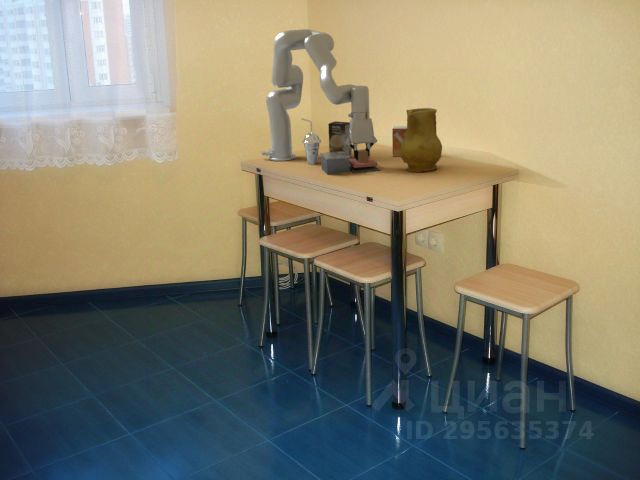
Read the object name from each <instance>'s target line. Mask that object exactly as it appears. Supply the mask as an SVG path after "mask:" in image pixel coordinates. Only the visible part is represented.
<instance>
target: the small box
mask: <svg viewBox="0 0 640 480" xmlns="http://www.w3.org/2000/svg"><path fill="white" fill-rule="evenodd" d="M406 131H407V125H405V126H404V125H402V126H399V125H398V126H395V125H394V126H393V127H392V144H391V145H392V146H391V147H392V157H401V144H402V142H403V140H404V138H405V135H406Z"/></svg>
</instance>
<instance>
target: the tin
mask: <svg viewBox="0 0 640 480" xmlns="http://www.w3.org/2000/svg"><path fill="white" fill-rule="evenodd" d="M319 155H320V159H321V160H320V164H321V170H322V171H323V172H324V173H325V175H327V176H328V175H339V174H346V173H347V174H348V173H351V171H350V167H349V160H350V159H351V157H350V156H349V155H347V154H346V153H345V152H343V151H338V152H320V154H319Z"/></svg>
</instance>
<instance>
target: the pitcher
mask: <svg viewBox="0 0 640 480" xmlns="http://www.w3.org/2000/svg"><path fill="white" fill-rule="evenodd" d="M437 112H438V109H437V108H432V107H423V108H411V109H406V115H407V116H406V126H407V131H406V135H405V138H404V140H403V142H402V144H401V156H400V158H401V160H402V162H403V163H405V164H407V166H408V167H407V169H406V170H407V171H409V172H411V173H420V172H422V173H423V172H430V171H433V170H436V169H437V168H438V165H437V163H438V162H439V161H440V160H441V158H442V154H443V153H442V151H443V145H442V142H441V139H440V138H439V137H438V135H437V114H436V113H437Z"/></svg>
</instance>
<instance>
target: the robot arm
mask: <svg viewBox="0 0 640 480" xmlns="http://www.w3.org/2000/svg"><path fill="white" fill-rule="evenodd" d="M334 47H335V41H334V38H333V36H332V35H330V34H329V33H327V32H322V31H318V30H313V29H309V28H305V29H304V28H303V29H302V28H301V29H290V30H284V31H282V32H279V33H277V35H276V36H275V38H274V40H273V58H272V59H273V60H272V68H271V69H272V70H271V82H272V83H271V84H272V85H273V86H274V87H276V88H280V89H276V90H272V91H270V92H269V93H268V94H267V96H266V100H265V103H266V108H267V111H268V117H269V129H270V142H271V143H270V144H271V145H270V146H271V148H270V150H267V151H263V150H262V151H261V156H265V157H267V156H268V160H270V161H275V162H279V161H280V162H283V161H291V160H294V159H296V158H297V156H296V154H295V153H293V142H292V127H291V126H292V125H291V117H290V116H289V113H288V111H287V110H292V109H295V108H297V107H298V106H299V105H300V103H301V100H302V95H303V84H304V73H303V70H302V68H301V67H300V66H299V65H297V64H293V53H292V51H300V50H305V51H306V52H307V54H308V56H309V57H310V59H311V60H312V62H313V63H314V66H316V69H317V70H318V72H319V84H320V89H321V90H322V92H323V93H324V96H325V97H326V99H328V101H329V102H330V103H332V104H333V105H335V106H336V105H337V106H338V105H342V104H349V103H351V104H350V108H351V109H350V113H348V115H347V116H348V118H351V119H349V120H350V121H349V122H350V125H349V137H348V139H347V141H346V142H345V144H346V145H348V146H350V147H351V148H352V151H353V159H356V160H358V150H359V149H358V145H359V144H365V148H364V149H365V150H366V151H368V159H369V158H370V156H371V152H370V151H371V150H370V149H372V147H373V146H374V145H375V144H376V143H377V142H378V139H377V138H376V136H375V133H374V123H373V120H372V118H370V116H371V115H370V92H369V91H370V90H369V86H366V85H354V84H350V83H349V84H341V85H338V84H337V82H335V80H334V78H333V75H332V71H333V70H334V68H335V67H336V66H337V60H336V58H335V57H334V55H333V53H332V51H333V50H334ZM350 142H352V144H350Z"/></svg>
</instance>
